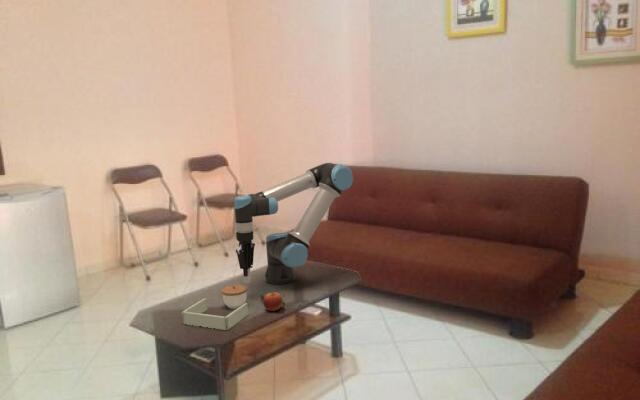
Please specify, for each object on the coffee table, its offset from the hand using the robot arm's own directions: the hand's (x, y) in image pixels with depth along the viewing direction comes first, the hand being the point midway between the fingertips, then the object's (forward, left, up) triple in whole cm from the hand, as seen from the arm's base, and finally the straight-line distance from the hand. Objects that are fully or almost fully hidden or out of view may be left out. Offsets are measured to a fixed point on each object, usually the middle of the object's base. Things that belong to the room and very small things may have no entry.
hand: (247, 282), depth 239 cm
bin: (+27, 0, -7) cm, 28 cm away
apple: (+11, +18, -7) cm, 22 cm away
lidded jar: (+12, 0, -7) cm, 14 cm away
